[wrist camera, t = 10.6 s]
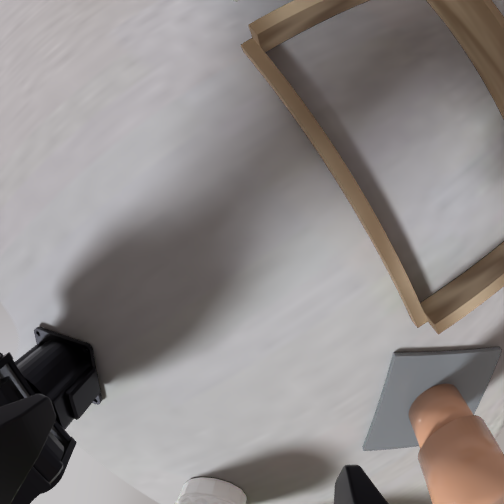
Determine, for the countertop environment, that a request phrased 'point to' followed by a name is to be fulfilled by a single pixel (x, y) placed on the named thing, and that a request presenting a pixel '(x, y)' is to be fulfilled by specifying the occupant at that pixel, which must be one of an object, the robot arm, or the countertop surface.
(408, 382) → the slate tile
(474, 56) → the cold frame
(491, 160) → the countertop surface
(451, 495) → the peach domed cylinder
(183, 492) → the white cup
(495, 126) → the countertop surface
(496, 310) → the countertop surface
